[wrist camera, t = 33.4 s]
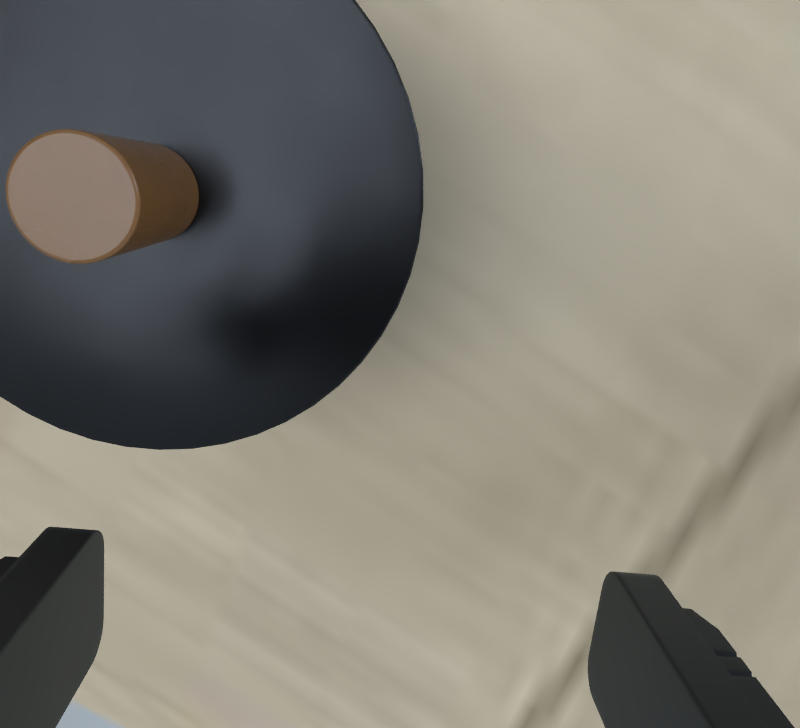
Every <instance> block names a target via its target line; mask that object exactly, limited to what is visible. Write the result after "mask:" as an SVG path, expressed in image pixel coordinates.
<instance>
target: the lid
mask: <svg viewBox="0 0 800 728" xmlns="http://www.w3.org/2000/svg"><path fill="white" fill-rule="evenodd" d="M422 213H423V167H422V160H421V152H420V145H419V137H418V132H417V128H416V124H415V120H414V117H413V113H412V109H411V105H410V101H409V98H408V95H407V93H406V90H405V88H404V85H403V83H402V80H401V78H400V75H399V73H398V70H397V68H396V65H395V63H394V61H393V59H392V57H391V55H390V53H389V52H388V50H387V48H386V46H385V44H384V43H383V41H382V39H381V37H380V35H379V34H378V32H377V30H376V28H375V27H374V25H373V24H372V23H371V21H370V20H369V18H368V17H367V16H366V14H365V13H364V12H363V10H362V9H361V7H360V6H359V5H358V3H357V2H356V1H355V0H0V397H2V398H4V399H5V400H7V401H8V402H10V403H12V404H13V405H15V406H17V407H18V408H20V409H21V410H23V411H25V412H26V413H28V414H30V415H32V416H34V417H36V418H38V419H41V420H43V421H45V422H47V423H49V424H51V425H53V426H55V427H58V428H60V429H63V430H66V431H69V432H72V433H75V434H78V435H81V436H83V437H86V438H89V439H92V440H97V441H102V442H107V443H111V444H116V445H121V446H126V447H136V448H148V449H159V450H162V449H193V448H199V447H206V446H212V445H219V444H225V443H229V442H232V441H236V440H239V439H243V438H246V437H250V436H253V435H257V434H259V433H261V432H263V431H266V430H268V429H270V428H273V427H275V426H277V425H280V424H282V423H284V422H287V421H288V420H290V419H292V418H293V417H295V416H297V415H298V414H300V413H302V412H303V411H305V410H307V409H308V408H310V407H312V406H314V405H315V404H316V403H317V402H319V401H320V400H321V399H323V398H324V397H325V396H326V395H328V394H329V393H330V392H331V391H333V390H334V389H335V388H337V387H338V386H339V385H340V384H341V383H342V382H343V381H344V380H345V379H346V378H347V377H348V376H349V375H350V374H351V373H352V372H353V371H354V370H355V369H356V368H357V367H358V366H359V365H360V364H361V363H362V361H363V360H364V359H365V357H366V356H367V355H368V353H369V352H370V351H371V349H372V348H373V347H374V345H375V344H376V343H377V341H378V340H379V339H380V337H381V336H382V334H383V332H384V331H385V329H386V327H387V325H388V324H389V322H390V320H391V318H392V316H393V315H394V313H395V311H396V309H397V307H398V305H399V303H400V300H401V298H402V295H403V293H404V290H405V288H406V285H407V283H408V280H409V278H410V275H411V271H412V267H413V263H414V259H415V255H416V252H417V248H418V244H419V237H420V229H421V221H422Z"/></svg>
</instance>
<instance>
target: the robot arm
mask: <svg viewBox="0 0 800 728" xmlns="http://www.w3.org/2000/svg"><path fill="white" fill-rule="evenodd" d="M103 618H104V540H103V536H102V533H101V532H100V531H98V530H85V529H72V528H59V527H48V528H46V529H45V530H44V531H43V532H42V533H41V534H40V536H39V537H38V538H37V539H36V540H35V541H34V542H33V543H32V544H31V545H30V546H29V547H28V548H27V550H26V551H25V552H24V553H23V554H22V555H21V556H20V557H4V558H2V559H0V728H55V727H56V726H57V724H58V722H59V721H60V719H61V717H62V715H63V714H64V712H65V710H66V708H67V707H68V705H69V703H70V701H71V700H72V698H73V696H74V694H75V693H76V691H77V689H78V688H79V686H80V684H81V682H82V681H83V679H84V677H85V675H86V674H87V672H88V670H89V668H90V667H91V665H92V663H93V661H94V659H95V656H96V654H97V651H98V648H99V644H100V640H101V635H102V629H103ZM736 654H737V653H736V651H735V650H734V649H733V648H732V646H731V645H730V644H729V642H728V641H727V640H726V639H725V637H724V636H723V635H722V633H721V632H720V631H719V630H718V629H717V628H716V627H714V626H713V625H712V624H710V623H709V622H708V621H706V620H705V619H704V618H702V617H701V616H700V615H698V614H697V613H696V612H694V611H693V610H692V609H685V608H682V607H681V606H680V604H679V603H678V601H677V600H676V599H675V597H674V596H673V595H672V593H671V592H670V590H669V589H668V588H667V586H666V585H665V584H664V582H663V581H662V579H661V578H660V577H659V576H657V575H650V574H637V573H624V572H609V573H608V574H607V576H606V577H605V580H604V582H603V586H602V591H601V596H600V601H599V606H598V611H597V616H596V621H595V626H594V631H593V636H592V641H591V646H590V651H589V658H588V679H589V686H590V691H591V694H592V697H593V700H594V702H595V705H596V707H597V709H598V712H599V714H600V716H601V719H602V721H603V723H604V726H605V728H794V727H793V725H792V724H791V723H790V721H789V720H788V719H787V718H786V716H785V715H784V714H783V712H782V711H781V710H780V708H779V707H778V706H777V705H776V703H775V702H774V701H773V699H772V698H771V697H770V696H769V694H768V693H767V692H766V690H765V689H764V688H763V686H762V685H761V684H760V683H759V681H758V680H757V679H756V677H752V675H751V673H752V672H751V671H750V670H749V668H748V667H747V666H746V664H745V663H744V662H743V661H742V659H741V658H739V657H737V655H736Z"/></svg>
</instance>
